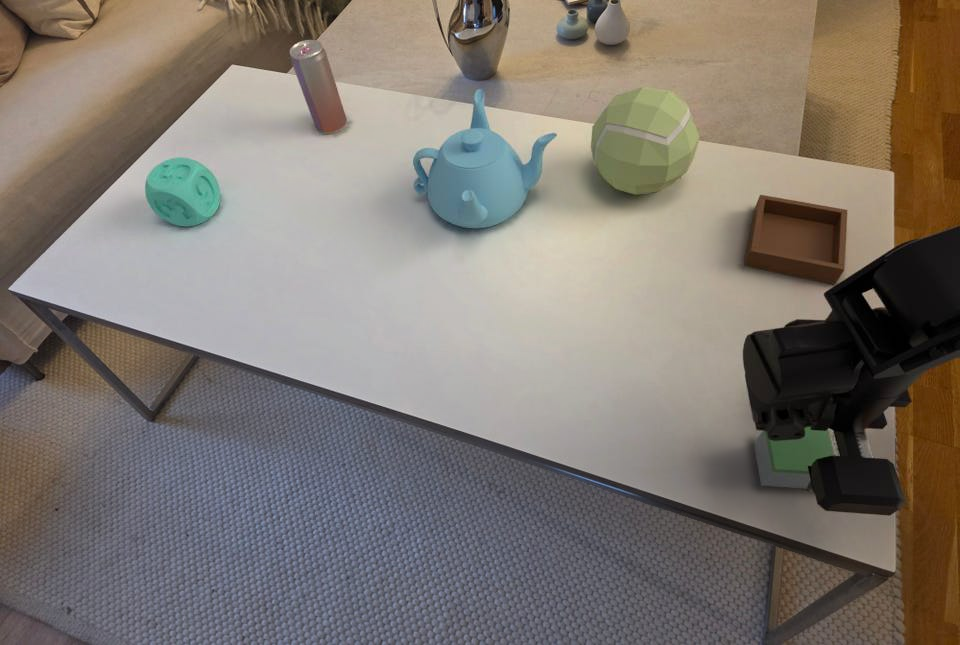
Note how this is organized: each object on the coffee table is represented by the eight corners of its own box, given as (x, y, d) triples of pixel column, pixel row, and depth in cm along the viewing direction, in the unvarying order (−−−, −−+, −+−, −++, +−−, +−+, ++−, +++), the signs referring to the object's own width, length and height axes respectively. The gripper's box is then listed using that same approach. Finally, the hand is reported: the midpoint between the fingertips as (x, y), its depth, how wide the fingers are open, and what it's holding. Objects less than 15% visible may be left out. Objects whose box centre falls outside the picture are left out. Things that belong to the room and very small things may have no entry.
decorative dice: (184, 193, 102) (160, 155, 95) (226, 195, 101) (205, 157, 94) (163, 226, 97) (136, 189, 91) (207, 228, 96) (182, 191, 90)
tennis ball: (610, 141, 100) (619, 58, 88) (697, 164, 95) (720, 79, 83) (574, 197, 93) (579, 115, 81) (666, 225, 88) (687, 141, 76)
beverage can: (310, 133, 109) (281, 56, 97) (325, 113, 112) (299, 37, 100) (338, 137, 108) (313, 60, 95) (352, 117, 111) (329, 40, 99)
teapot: (559, 195, 94) (561, 130, 84) (474, 260, 87) (465, 197, 77) (485, 150, 102) (479, 86, 92) (402, 206, 95) (386, 143, 85)
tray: (753, 210, 88) (760, 194, 86) (838, 225, 85) (847, 209, 82) (744, 265, 82) (750, 250, 80) (835, 284, 79) (844, 269, 76)
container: (810, 445, 66) (827, 426, 62) (820, 490, 63) (839, 473, 59) (752, 442, 67) (766, 422, 63) (760, 486, 64) (774, 469, 60)
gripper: (750, 278, 55) (711, 366, 67) (789, 469, 44) (734, 531, 57) (879, 281, 53) (814, 370, 66) (952, 480, 43) (858, 540, 55)
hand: (803, 446), depth 61 cm, fingers open, 9 cm apart
